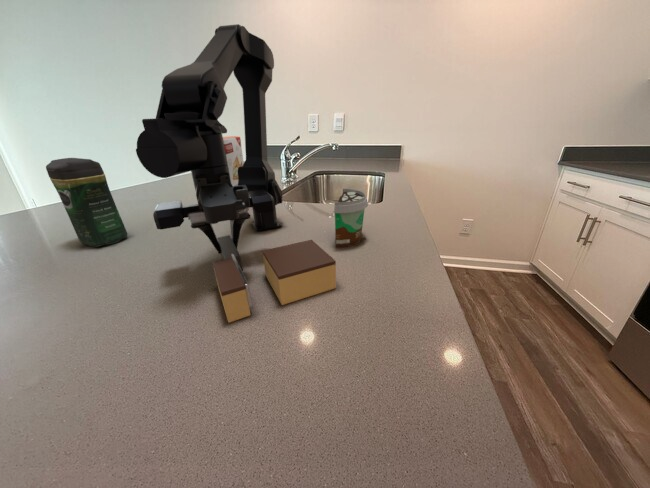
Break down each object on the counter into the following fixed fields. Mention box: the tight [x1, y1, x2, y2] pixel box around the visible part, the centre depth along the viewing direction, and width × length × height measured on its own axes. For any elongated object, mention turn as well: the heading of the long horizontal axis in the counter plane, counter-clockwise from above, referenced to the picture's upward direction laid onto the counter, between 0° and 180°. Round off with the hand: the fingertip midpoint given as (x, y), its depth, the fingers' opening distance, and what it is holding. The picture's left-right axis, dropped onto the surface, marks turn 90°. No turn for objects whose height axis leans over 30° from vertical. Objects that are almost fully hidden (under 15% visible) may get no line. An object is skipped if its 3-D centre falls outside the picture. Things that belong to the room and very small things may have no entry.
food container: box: [333, 188, 369, 248], centre depth 56 cm, size 12×6×10 cm, turn 168°
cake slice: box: [211, 258, 251, 324], centre depth 38 cm, size 9×3×5 cm, turn 28°
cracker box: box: [223, 135, 245, 187], centre depth 75 cm, size 14×6×21 cm, turn 179°
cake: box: [261, 239, 337, 306], centre depth 42 cm, size 9×9×5 cm
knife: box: [217, 234, 253, 308], centre depth 42 cm, size 20×2×4 cm, turn 28°
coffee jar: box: [45, 157, 128, 248], centre depth 57 cm, size 10×8×19 cm
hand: (227, 251), depth 48 cm, fingers closed on knife, 2 cm apart
